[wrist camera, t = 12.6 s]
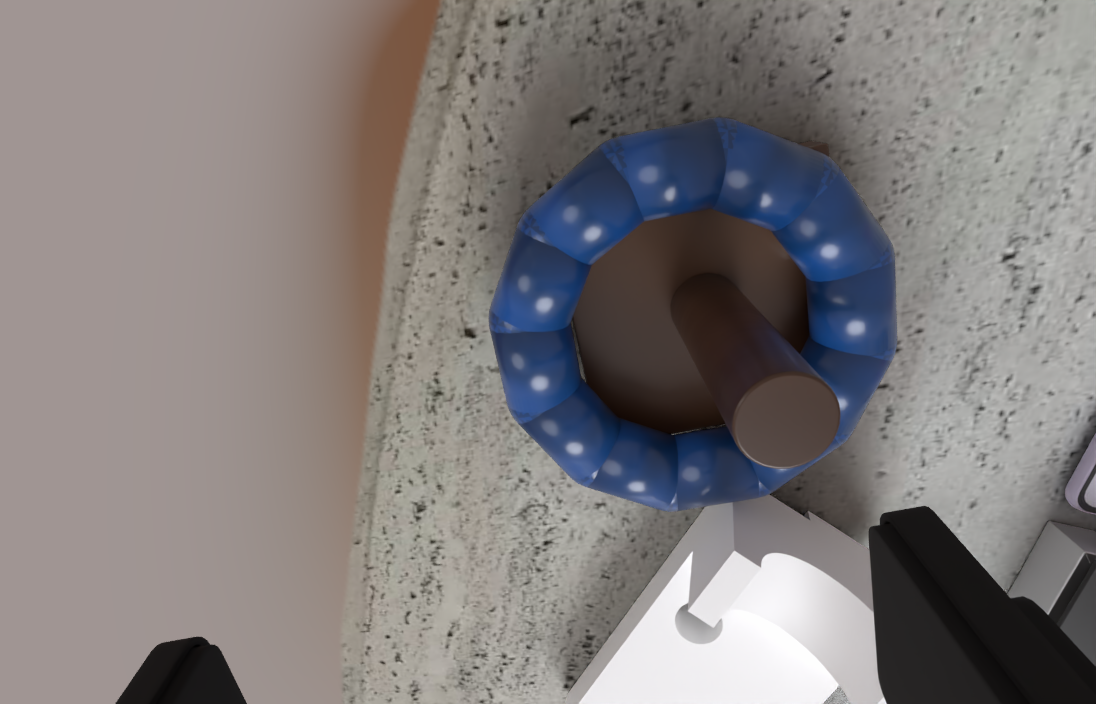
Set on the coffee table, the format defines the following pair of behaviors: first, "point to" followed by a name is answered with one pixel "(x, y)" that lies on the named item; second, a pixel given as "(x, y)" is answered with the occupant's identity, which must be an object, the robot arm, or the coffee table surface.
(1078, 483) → the smartphone
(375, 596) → the coffee table surface
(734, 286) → the peg stand
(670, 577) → the bracket
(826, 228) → the blue spotted ring
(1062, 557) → the picture frame
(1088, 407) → the coffee table surface
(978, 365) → the coffee table surface
